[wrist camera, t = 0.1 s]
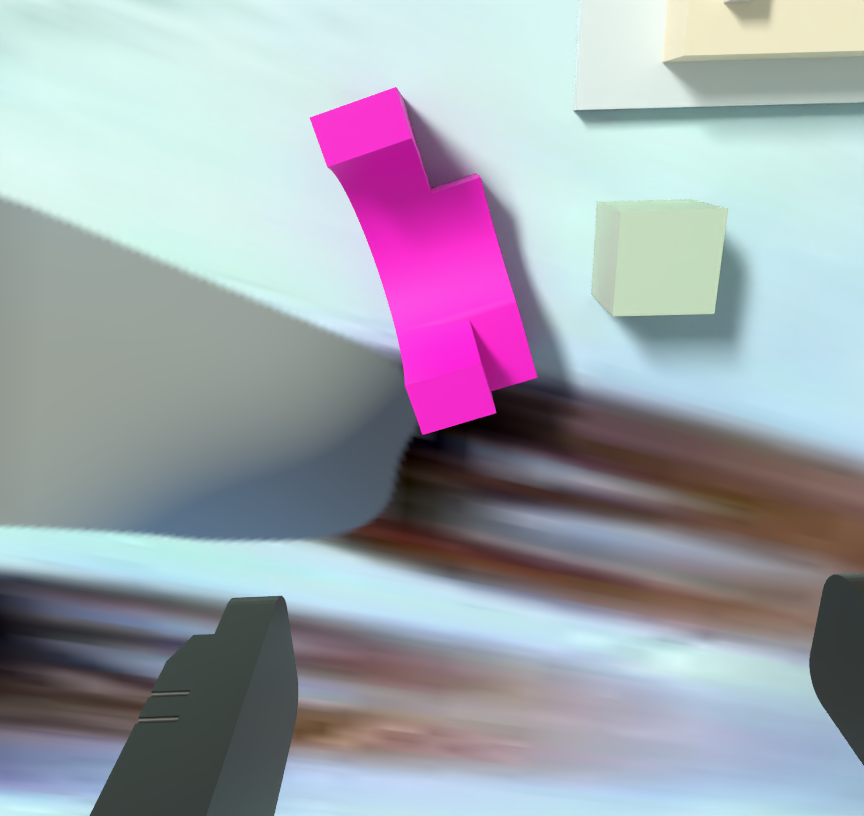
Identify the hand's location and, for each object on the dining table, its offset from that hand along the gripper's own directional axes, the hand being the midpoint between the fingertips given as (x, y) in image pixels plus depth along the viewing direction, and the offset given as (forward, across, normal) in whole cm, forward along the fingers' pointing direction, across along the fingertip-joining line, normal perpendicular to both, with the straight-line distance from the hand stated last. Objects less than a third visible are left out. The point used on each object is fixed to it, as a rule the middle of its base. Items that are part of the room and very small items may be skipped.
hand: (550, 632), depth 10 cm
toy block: (+30, +1, -2) cm, 30 cm away
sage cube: (+30, -10, -1) cm, 31 cm away
